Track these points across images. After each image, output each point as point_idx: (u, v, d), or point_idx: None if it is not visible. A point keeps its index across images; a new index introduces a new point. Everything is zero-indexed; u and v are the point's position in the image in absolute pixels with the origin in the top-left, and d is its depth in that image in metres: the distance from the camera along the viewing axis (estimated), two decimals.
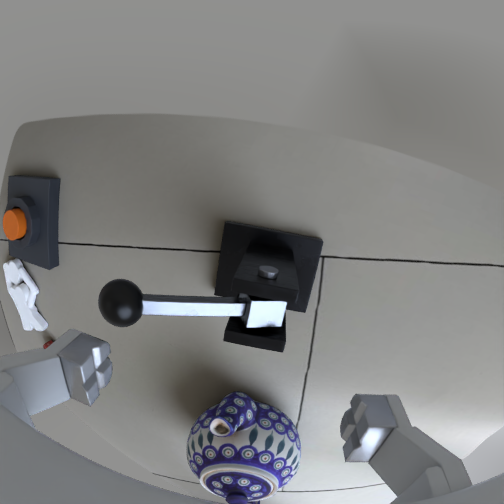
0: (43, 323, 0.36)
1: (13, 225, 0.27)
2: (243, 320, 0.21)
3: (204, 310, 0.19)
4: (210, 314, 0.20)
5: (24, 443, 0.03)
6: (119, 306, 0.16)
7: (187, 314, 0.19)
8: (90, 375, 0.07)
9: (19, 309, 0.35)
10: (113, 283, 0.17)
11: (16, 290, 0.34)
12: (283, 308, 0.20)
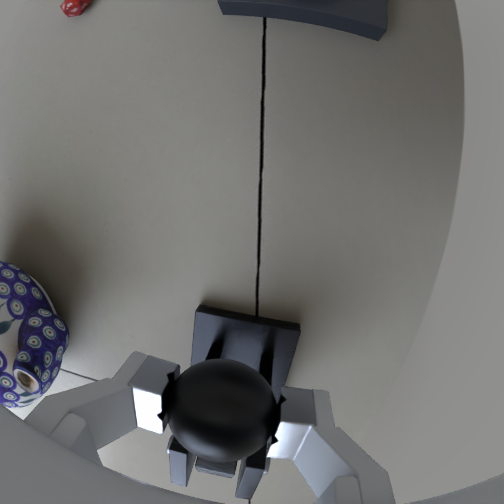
0: None
1: None
2: (201, 457, 0.13)
3: None
4: None
5: (24, 443, 0.03)
6: (230, 461, 0.06)
7: None
8: None
9: None
10: (274, 424, 0.07)
11: None
12: (222, 476, 0.14)
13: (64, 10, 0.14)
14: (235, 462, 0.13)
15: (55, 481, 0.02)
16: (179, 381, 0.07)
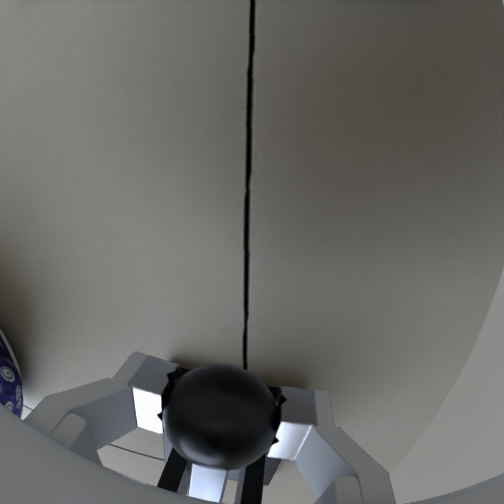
0: None
1: None
2: None
3: None
4: None
5: (24, 443, 0.03)
6: (234, 452, 0.06)
7: None
8: None
9: None
10: (277, 418, 0.07)
11: None
12: None
13: None
14: None
15: (55, 481, 0.02)
16: (183, 375, 0.07)
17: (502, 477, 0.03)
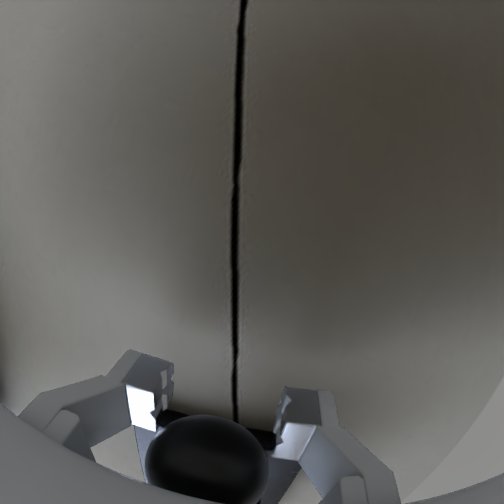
0: None
1: None
2: None
3: None
4: None
5: (24, 443, 0.03)
6: (222, 502, 0.04)
7: None
8: None
9: None
10: (268, 469, 0.06)
11: None
12: None
13: None
14: None
15: (55, 481, 0.02)
16: None
17: (502, 477, 0.03)
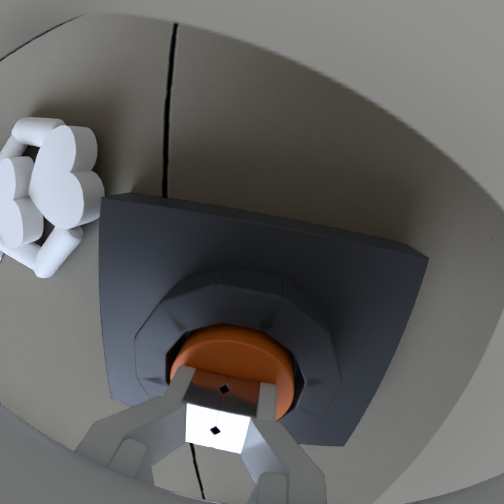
0: None
1: None
2: None
3: None
4: None
5: (24, 443, 0.03)
6: None
7: None
8: None
9: None
10: None
11: (14, 206, 0.10)
12: None
13: None
14: None
15: (55, 481, 0.02)
16: None
17: (502, 477, 0.03)
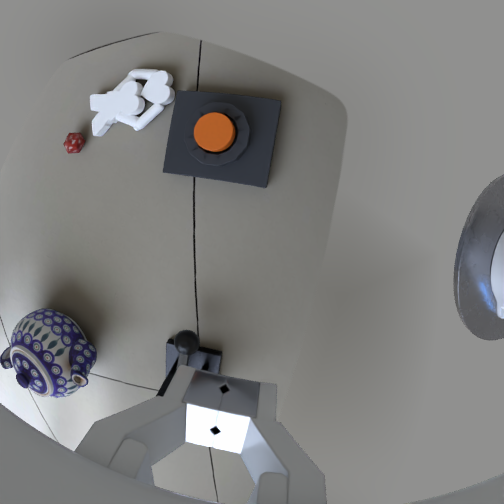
0: (101, 132, 0.32)
1: (212, 139, 0.27)
2: None
3: None
4: None
5: (24, 443, 0.03)
6: (188, 344, 0.32)
7: None
8: None
9: (113, 95, 0.30)
10: (199, 341, 0.34)
11: (134, 97, 0.29)
12: None
13: (67, 150, 0.32)
14: None
15: (55, 481, 0.02)
16: None
17: (502, 477, 0.03)
